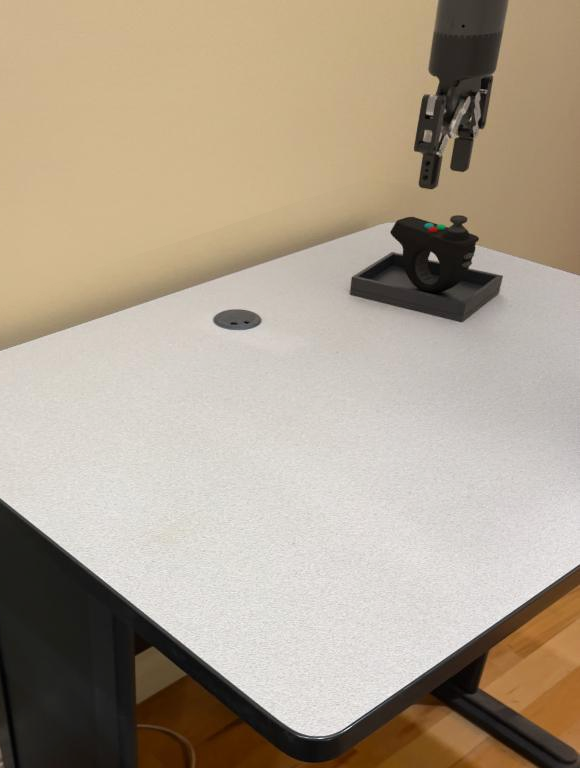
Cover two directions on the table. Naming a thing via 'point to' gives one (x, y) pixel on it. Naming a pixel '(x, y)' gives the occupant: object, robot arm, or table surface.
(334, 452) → the table surface
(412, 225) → the controller
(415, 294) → the dock
